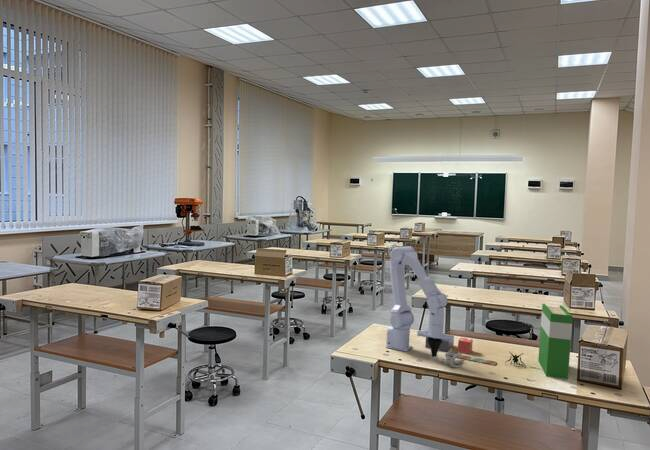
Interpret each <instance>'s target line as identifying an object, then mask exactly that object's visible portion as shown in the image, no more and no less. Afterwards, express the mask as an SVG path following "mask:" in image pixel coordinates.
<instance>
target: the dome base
mask: <svg viewBox="0 0 650 450" xmlns="http://www.w3.org/2000/svg"><path fill="white" fill-rule="evenodd" d="M444 334H445V335H449V336H453V337H454V338H455V335H452V334H447V333H444ZM427 340H428V337H425V346H424V347H425V348H427V349H430V346H429V343H428V341H427ZM454 344H455V341H454V342H453V343H452V342H449V341H444V340H443V341H442V343H441V345H440V347H439V349H438V351H443V352H446V353H447V352H449V351H450V350H451V349H452V348H453V347H454Z"/></svg>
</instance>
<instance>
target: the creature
mask: <svg viewBox="0 0 650 450" xmlns="http://www.w3.org/2000/svg"><path fill="white" fill-rule="evenodd" d="M523 354H524V353H521V354H518V355H517V354H513V353H512V352H510V357H509V359H508V360H506V361H505V363H504V365H505V366H507V364H506V363H507V362H510V364H512V363H513V367H514V368H515V367H516V368H518V366H521V364H523V365H524V366H525V368H524V369H527V365H526V363H524V362H523V361H522V356H521V355H523ZM512 357H513V358H512ZM520 363H521V364H520Z"/></svg>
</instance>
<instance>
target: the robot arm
mask: <svg viewBox="0 0 650 450" xmlns="http://www.w3.org/2000/svg"><path fill="white" fill-rule="evenodd" d="M389 258H390V260H389V265H388V267H389V274H390V282H391V289H392V298H393V307H392V309H391V310H390V317H389V323H390V325H389V326H388V327H387V330H386V331H387V332H386V343H385V344H386V345H385V348H386V349H387V348H388V349H392V350H397V351H403V352H407V351H409V350H410V349H411V348H412V346H413V345H410V334H411V327H412V325H413V324H414V321H415V317H414V314H413V312H412V308H411V306H410V305H409V304H408V303H407V302H408V301H407V295H406V294H407V293H406V288H405V287H406V286H405V279H404V277H405V276H404V270H403V269H404V267H405V266H409V267H410V269H411V270H412V271H413V273H414V274H415V276H416V277H417V278H418V280H419V287H420V288H421V291H422V292H423V293H424V295H425V297H426V298H427V300H426V305H427V307H428V311H429V318H428V331H427V330H418V331H417V333H416V334H417V335H416V336H417V337H423V338H426V337H428V340H427V341H428V343H429V346H430V348H429V349H430V353H431V357H432V358H436V357H437V355H438V352H439V350H438V349H439V347H440V345H441V343H442V341H443V340H444V341H449V342H452V343H453V342H454V343H455V336H454V335H453V336H454V337H453V336H449V335H450V334H448V335H445V334H446V333H444V320H445V319H444V317H445V307H446V306H447V305H448V303H449V302H448V300H449V299H448V297H447V295H446V293H443V292H441V291H440V289H439V288H438V286H437V284H436V282H435V280H434V279H433V278H432V277H430V276H427V273H426V272H425V269H424V267H423V265H422V264H421V262H420V260H419V258H418V253H417V252H416V251H415V248H414V247H413V246H411V245H407V246H394V247H393V248H392V249H391V251H390V252H389Z"/></svg>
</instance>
